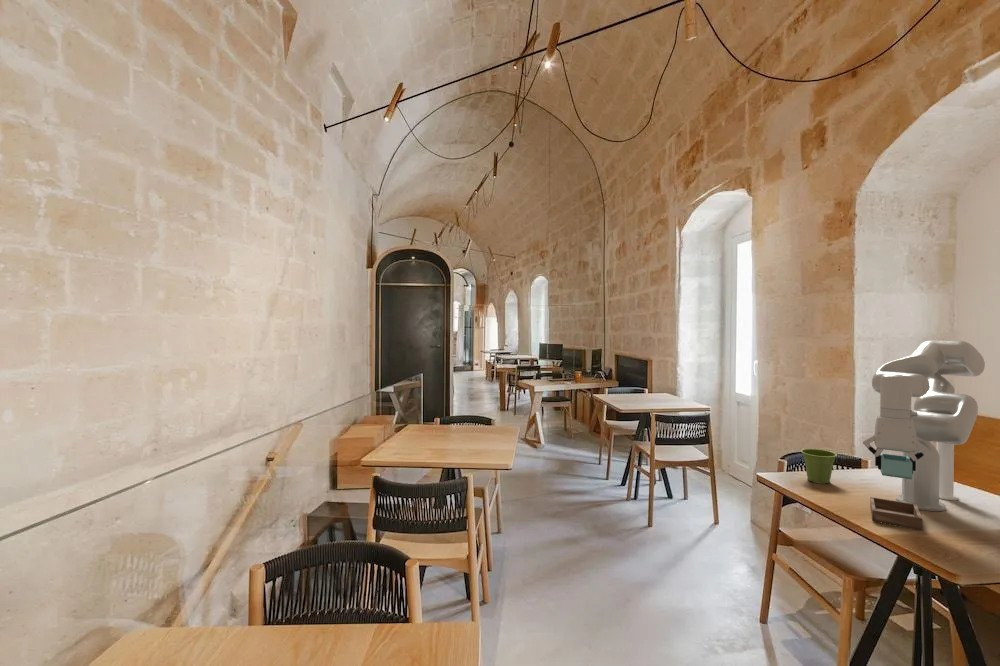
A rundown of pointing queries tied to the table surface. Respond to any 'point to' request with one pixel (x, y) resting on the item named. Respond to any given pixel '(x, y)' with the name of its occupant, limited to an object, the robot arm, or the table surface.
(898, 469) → the teal crate
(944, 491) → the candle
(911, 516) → the walnut crate
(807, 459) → the plant pot
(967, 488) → the table surface
